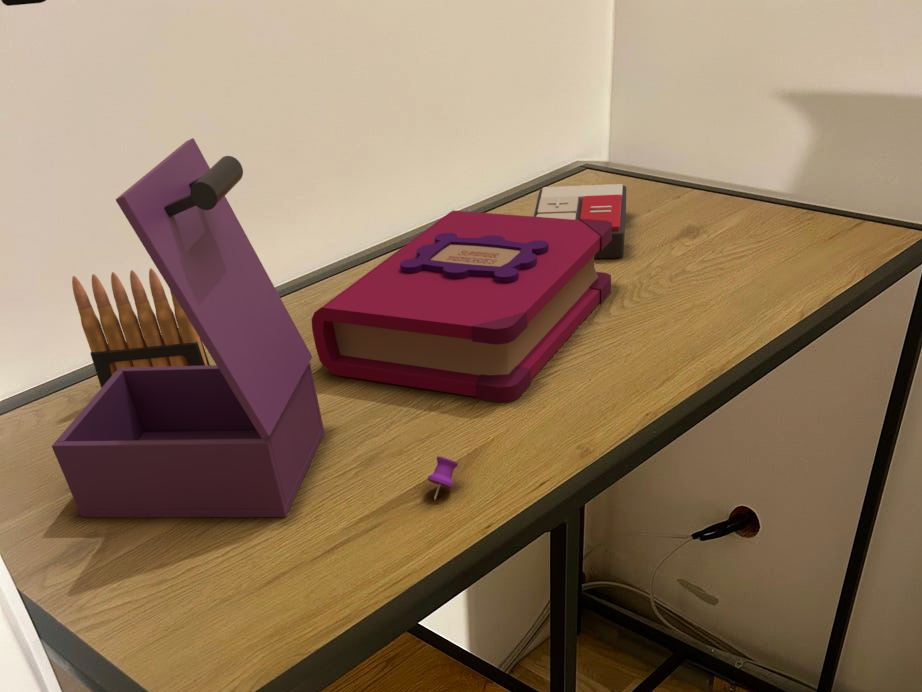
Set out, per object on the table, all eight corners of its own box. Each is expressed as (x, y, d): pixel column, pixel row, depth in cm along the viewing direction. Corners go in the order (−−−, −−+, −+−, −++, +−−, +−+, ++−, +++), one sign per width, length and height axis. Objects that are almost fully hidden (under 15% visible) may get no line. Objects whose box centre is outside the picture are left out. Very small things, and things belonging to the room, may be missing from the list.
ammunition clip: (216, 383, 95) (182, 261, 87) (213, 391, 94) (178, 269, 86) (109, 393, 95) (66, 273, 87) (105, 402, 94) (60, 281, 86)
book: (320, 374, 95) (304, 299, 90) (447, 270, 113) (440, 202, 108) (513, 404, 87) (508, 324, 82) (616, 287, 105) (617, 215, 100)
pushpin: (423, 497, 76) (419, 464, 74) (444, 479, 78) (440, 446, 76) (445, 503, 76) (441, 470, 74) (465, 485, 77) (462, 452, 75)
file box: (81, 517, 78) (50, 445, 74) (142, 435, 88) (118, 367, 84) (285, 517, 76) (266, 443, 71) (324, 432, 86) (310, 362, 81)
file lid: (114, 199, 61) (174, 171, 59) (186, 141, 70) (238, 115, 69) (261, 439, 71) (316, 421, 70) (305, 359, 81) (354, 341, 80)
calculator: (528, 229, 111) (539, 182, 121) (530, 266, 114) (540, 216, 124) (624, 226, 109) (626, 178, 119) (623, 263, 112) (625, 213, 122)
